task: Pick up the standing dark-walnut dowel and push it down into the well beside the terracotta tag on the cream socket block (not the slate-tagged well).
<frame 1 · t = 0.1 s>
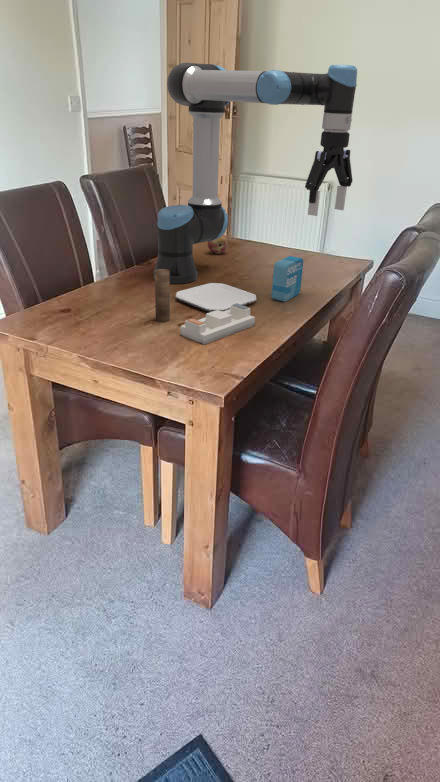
hand: (326, 212, 162), 28 cm above the table, fingers open, 13 cm apart
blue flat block: (285, 297, 182), on the table
dowel: (162, 319, 160), on the table
plate: (215, 302, 176), on the table
socket block: (218, 329, 155), on the table
fruit: (217, 254, 227), on the table
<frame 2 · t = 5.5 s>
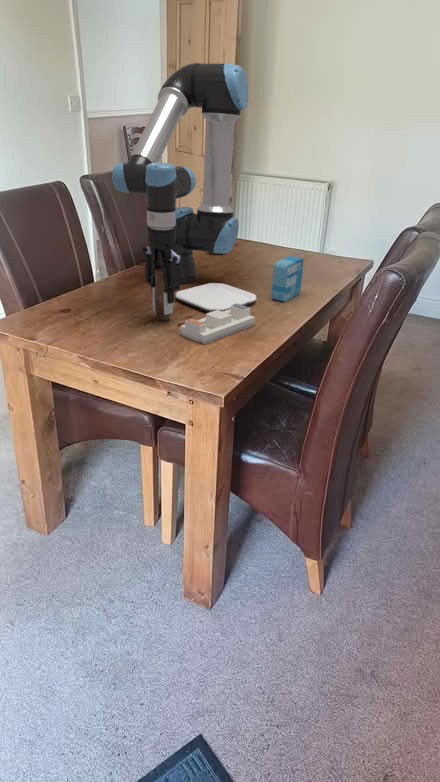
hand: (162, 311, 159), 2 cm above the table, fingers closed on dowel, 4 cm apart
dowel: (163, 318, 160), on the table, touching gripper
everything else where it was.
when the fingers open (4 cm above the table, at t = 10.2 s): dowel stays where it is, resting on socket block.
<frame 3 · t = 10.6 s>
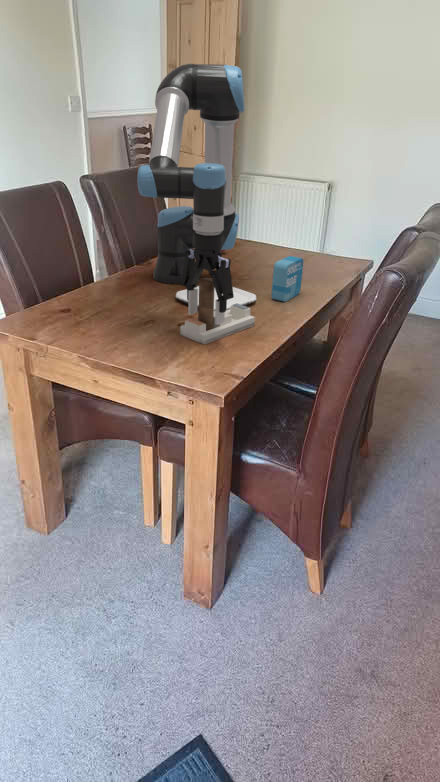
hand: (205, 318, 149), 5 cm above the table, fingers open, 9 cm apart
dowel: (205, 331, 151), point 1 cm above the table, touching socket block
everything else where it was.
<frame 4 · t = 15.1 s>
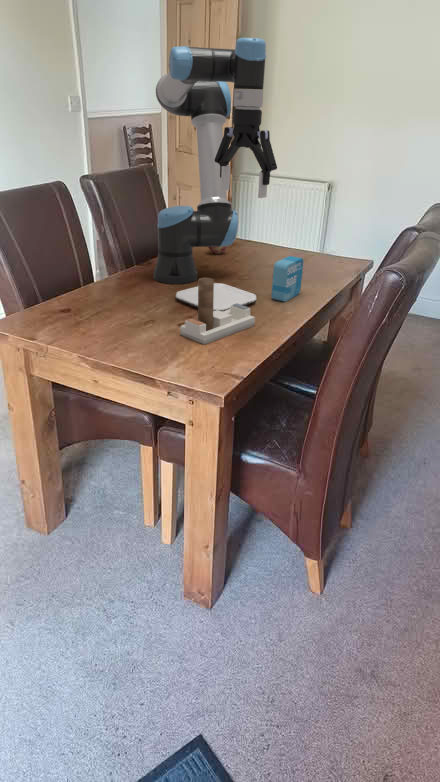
hand: (243, 194, 156), 33 cm above the table, fingers open, 13 cm apart
nothing on the table moved.
at the end: dowel 0.0 cm from the target spot on the socket block, point 1.0 cm above the socket block's base; dowel tilted 1°; the gripper is holding nothing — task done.
